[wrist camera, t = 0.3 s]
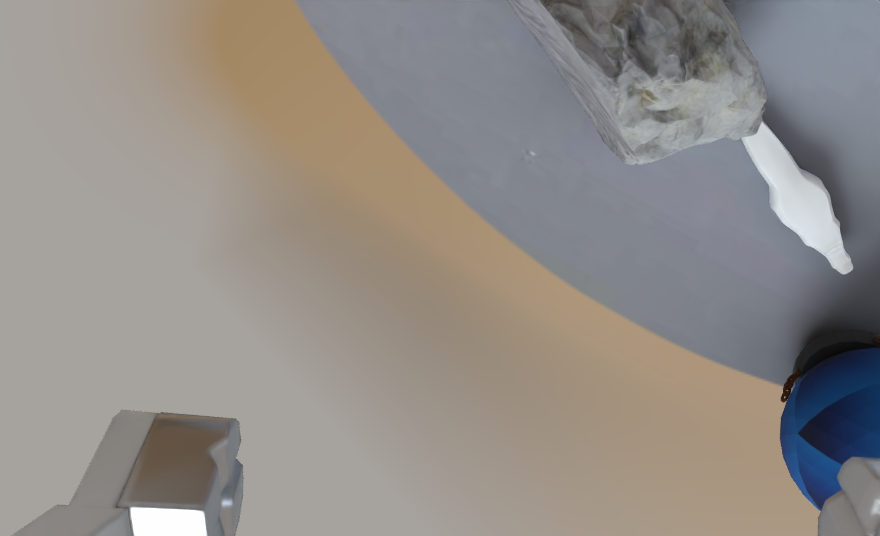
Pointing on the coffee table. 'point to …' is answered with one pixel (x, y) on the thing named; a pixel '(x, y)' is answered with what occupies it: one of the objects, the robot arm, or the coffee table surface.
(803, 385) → the bomb
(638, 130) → the decorative rock
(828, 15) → the coffee table surface
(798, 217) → the white tapered bar
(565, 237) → the coffee table surface
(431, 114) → the coffee table surface
